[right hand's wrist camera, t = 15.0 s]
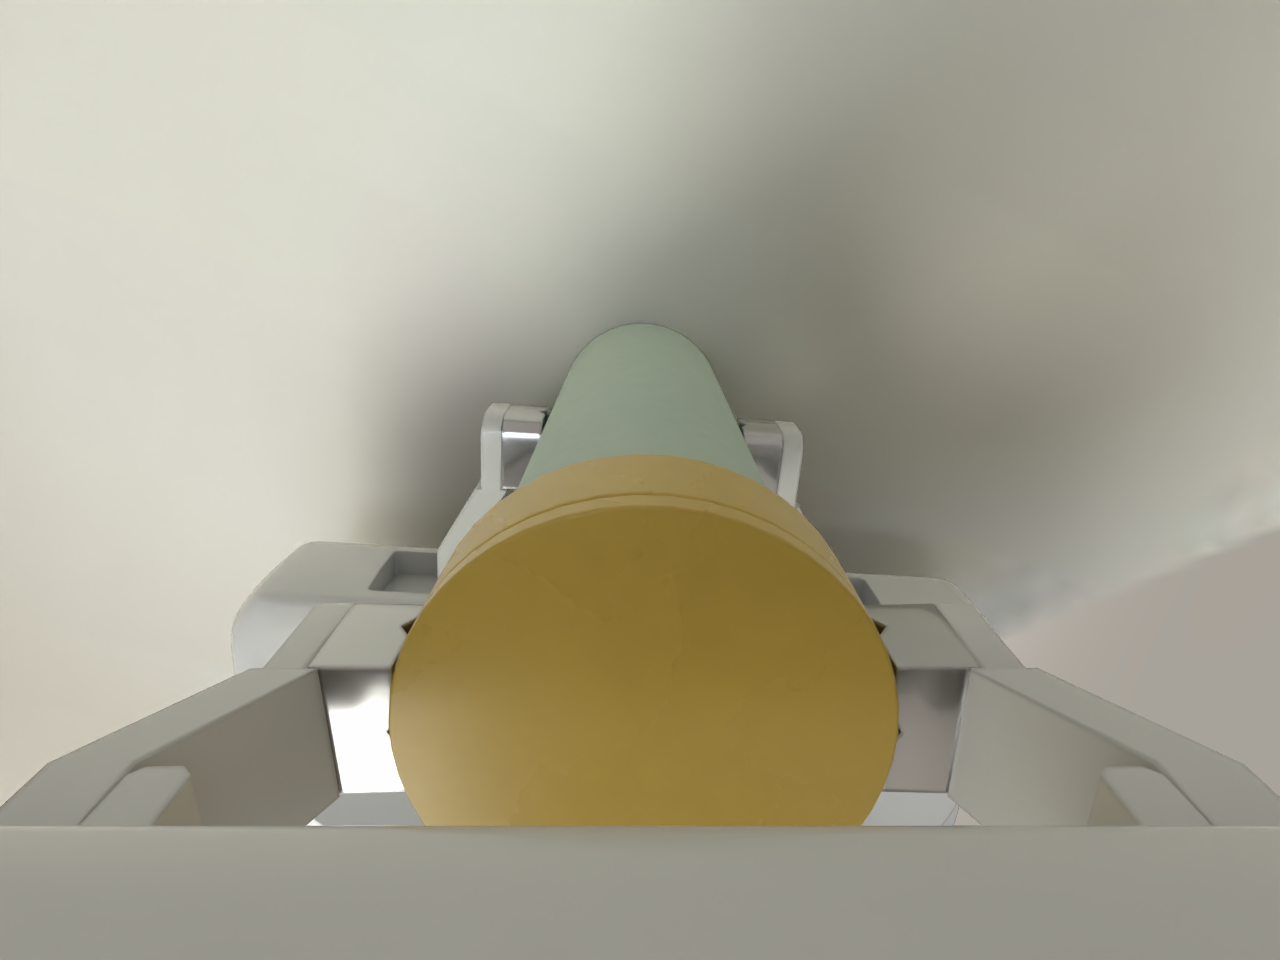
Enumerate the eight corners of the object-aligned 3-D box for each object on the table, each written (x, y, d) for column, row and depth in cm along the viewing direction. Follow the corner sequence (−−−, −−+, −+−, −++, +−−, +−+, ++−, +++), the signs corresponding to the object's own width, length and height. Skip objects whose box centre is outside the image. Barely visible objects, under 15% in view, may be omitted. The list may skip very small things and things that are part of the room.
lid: (722, 363, 9) (741, 398, 7) (927, 711, 10) (982, 805, 9) (339, 594, 10) (277, 673, 8) (582, 877, 11) (573, 989, 10)
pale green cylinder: (667, 291, 22) (719, 448, 8) (746, 425, 24) (917, 769, 9) (532, 377, 23) (351, 661, 9) (617, 500, 25) (585, 923, 10)
